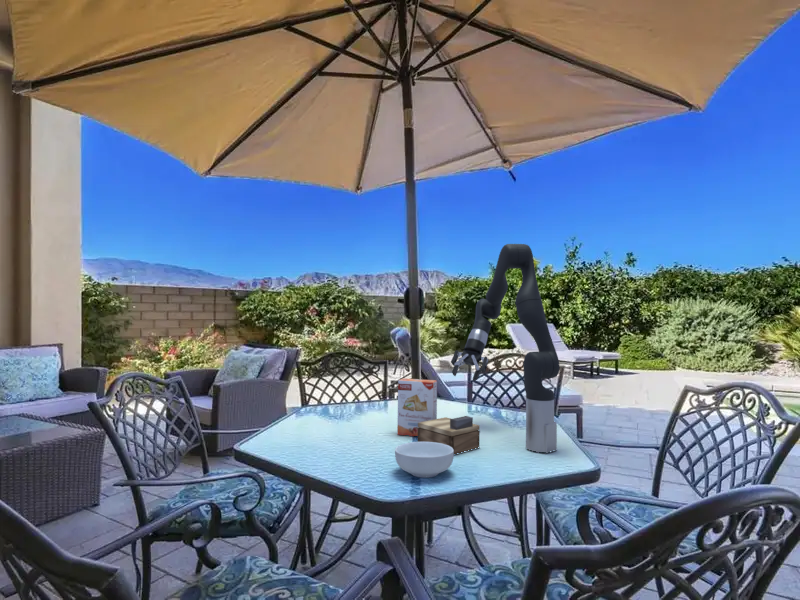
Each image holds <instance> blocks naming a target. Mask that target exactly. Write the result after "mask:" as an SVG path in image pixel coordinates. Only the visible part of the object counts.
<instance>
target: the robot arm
mask: <svg viewBox="0 0 800 600" xmlns="http://www.w3.org/2000/svg"><path fill="white" fill-rule="evenodd" d="M509 269H519V270H521V276H522V278H521V279H522V281H521V285H520V287H519V288H518V289H519V290H518V292H517V294H516V297H515V301H514V302H515V308H516V312H517V317H518V319H519V322H520V323H521V325H522V326H523V327H524V328H525V330H526V331H527V332H528V333H529V334H530V336H531V337H532V338H533V340H534V342H535V344H536V346H537V350H538V351H529V352H527V353H526V354H525V356H524V359H523V365H522V366H523V384H524V385H523V386H524V390H525V449H526V448H527V449H529V450H528V451H530V450H532V451H531V452H533V451H536V452H535V453H539V452H546V453H548V452H550V451H553V450H556V449H558V448H557V446H558V441H557V440H558V438H557V437H558V436H557V435H558V434H557V431H558V429H557V428H558V425H557V424H558V422H557V421H555V392H554V390H552V389H550V388H548V387H545V386H544V384H543V381H542V379H554V378H556V377H558V375H559V373H560V367H561V366H560V359H559V357H558V354H557V350H556V347H555V345H554V341H553V339H552V336H551V333H550V330H549V326H548V322H547V318H546V313H545V309H544V306H543V305H544V304H543V300H542V297H541V293H540V289H539V286H538V280H537V275H536V267H535V262H534V255H533V251H532V248H531V247H530V245H528V244H526V243H506V244H505V245H503V246H502V248H501V249H500V252H499V255H498V259H497V262H496V266H495V270H494V274H493V278H492V280H491V283H490V285H489V287H488V289H487V292H486V294H485V298H480V299H478V300H477V303H476V305H475V316H474V317H475V318H474V322H473V325H472V328H471V331H470V333H469V334H468V337H467V340H466V343H465V346H464V349H463V350H462V352H460V351H458V349H457V350H455V351H454V354H453V355H452V359H451V360H450V364H451V365H452V366H453V368H452V372H451V373H452V375H453V377H456V376H457V373H458V371H459V368H460V367H461V366H464V365H465V366H467V365H468V366H469V365H470V366H472V367H475V371H474V373H473V377H472V380H473V381H475V382H476V381H478V379H479V376H480V374H481V373H482V374H483V373H484V374H485V373H486V371H487V367H488V364H489V358H488V356H485V355H484V356H483V353H484V350H485V348H486V345H487V342H488V337H489V333H490V330H491V329H492V328H491V327H492V323H491V321H489V320H488V319H490V320H496V319H498V318H499V317H500V315H501V311H502V303H503V299H504V298H505V296H506V294H507V292H508V288H509V283H508V280H507V277H506V273H507V271H508V270H509ZM487 318H488V319H487ZM479 362H482V364H481V367H480V366H479ZM527 449H526V450H527ZM556 451H557V450H556ZM553 452H554V451H553ZM546 453H545V454H546ZM550 453H551V452H550ZM548 454H549V453H548Z"/></svg>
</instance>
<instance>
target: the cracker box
mask: <svg viewBox="0 0 800 600" xmlns="http://www.w3.org/2000/svg"><path fill="white" fill-rule="evenodd" d="M437 407H438V380H435V379H421V378H419V379H418V378H406V377H405V378H403V377H402V378H400V379H398V380H397V433H396V434H397V435H398V436H405V435H409V436H408V437H414V436H418V428H419V427H418V423H419V422H424V421H429V420H434V419H438V418H437V417H438V416H437V415H438V408H437Z"/></svg>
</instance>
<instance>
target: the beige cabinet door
mask: <svg viewBox="0 0 800 600" xmlns="http://www.w3.org/2000/svg"><path fill="white" fill-rule="evenodd" d="M418 427H419V428H423V429H427V430H430V431H434V432H438V433H441V434H445V435H448V436H455V435H459V434H464V433H468V432H472V431H476V430H479V431H481V430H480V425H479V424H474V417H472V416H468V415H464V416H460V417H459V416H458V417H453V418H450V417H448V416H447V417H439V418H437V419H434V420H429V421H424V422H419V423H418Z"/></svg>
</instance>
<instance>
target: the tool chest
mask: <svg viewBox="0 0 800 600" xmlns="http://www.w3.org/2000/svg"><path fill="white" fill-rule="evenodd" d="M480 431H481V430H476V431H472V432H468V433H464V434H459V435H455V436H448V435H445V434H441V433H438V432H434V431H430V430H427V429H423V428H418V437H417V442H436V443H442V444H445V445H448V446H450V447H452V448H453V450H454V454H457V453H461V452H464V451H468V450H471V449H475V448H478V447H479V448H480V433H481V432H480ZM479 448H478V449H479ZM475 450H476V449H475ZM471 451H472V450H471ZM468 452H469V451H468ZM464 453H465V452H464ZM461 454H462V453H461ZM457 455H458V454H457Z"/></svg>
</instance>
